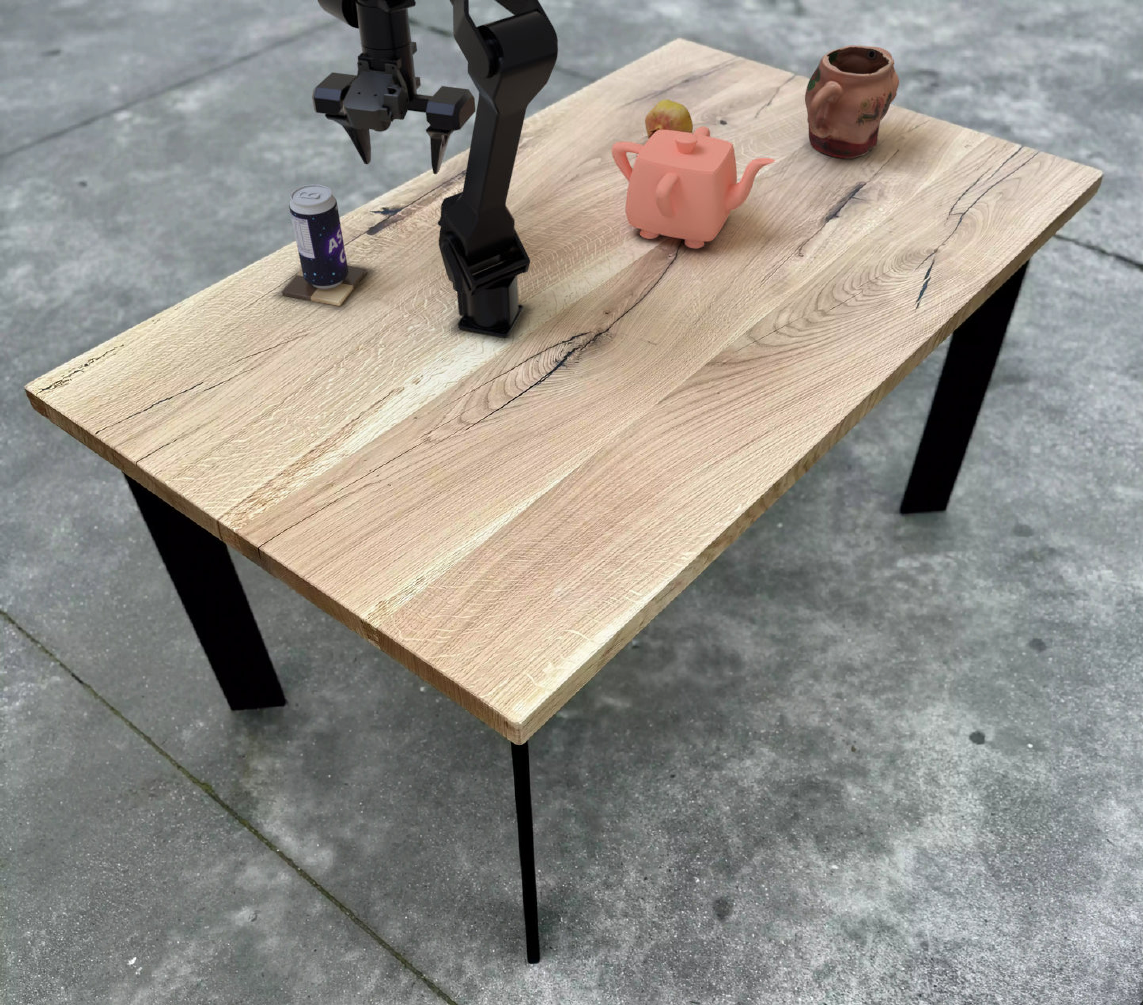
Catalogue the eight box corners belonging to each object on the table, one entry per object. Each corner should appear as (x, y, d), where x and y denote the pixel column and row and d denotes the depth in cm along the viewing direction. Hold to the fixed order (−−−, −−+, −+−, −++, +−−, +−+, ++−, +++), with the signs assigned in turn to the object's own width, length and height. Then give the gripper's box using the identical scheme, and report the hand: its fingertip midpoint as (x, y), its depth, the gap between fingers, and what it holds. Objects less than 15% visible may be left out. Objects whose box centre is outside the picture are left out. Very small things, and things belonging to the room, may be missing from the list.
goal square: (367, 272, 142) (366, 268, 141) (339, 306, 136) (339, 302, 136) (311, 262, 143) (310, 258, 143) (282, 295, 138) (281, 291, 138)
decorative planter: (844, 188, 157) (862, 94, 148) (769, 163, 162) (782, 71, 153) (903, 136, 169) (923, 46, 159) (831, 115, 174) (847, 26, 164)
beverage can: (340, 294, 137) (325, 208, 129) (297, 289, 138) (279, 203, 129) (355, 270, 141) (341, 185, 133) (314, 265, 142) (297, 180, 133)
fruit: (659, 89, 167) (630, 113, 161) (700, 87, 164) (672, 112, 158) (666, 133, 171) (637, 159, 165) (706, 132, 168) (679, 158, 162)
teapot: (603, 212, 152) (605, 123, 143) (701, 188, 157) (709, 100, 148) (661, 273, 142) (667, 180, 132) (764, 245, 147) (777, 153, 137)
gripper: (278, 59, 121) (304, 188, 132) (435, 78, 117) (448, 210, 128) (323, 22, 128) (344, 147, 139) (472, 39, 125) (481, 166, 135)
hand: (401, 168), depth 135 cm, fingers open, 9 cm apart
